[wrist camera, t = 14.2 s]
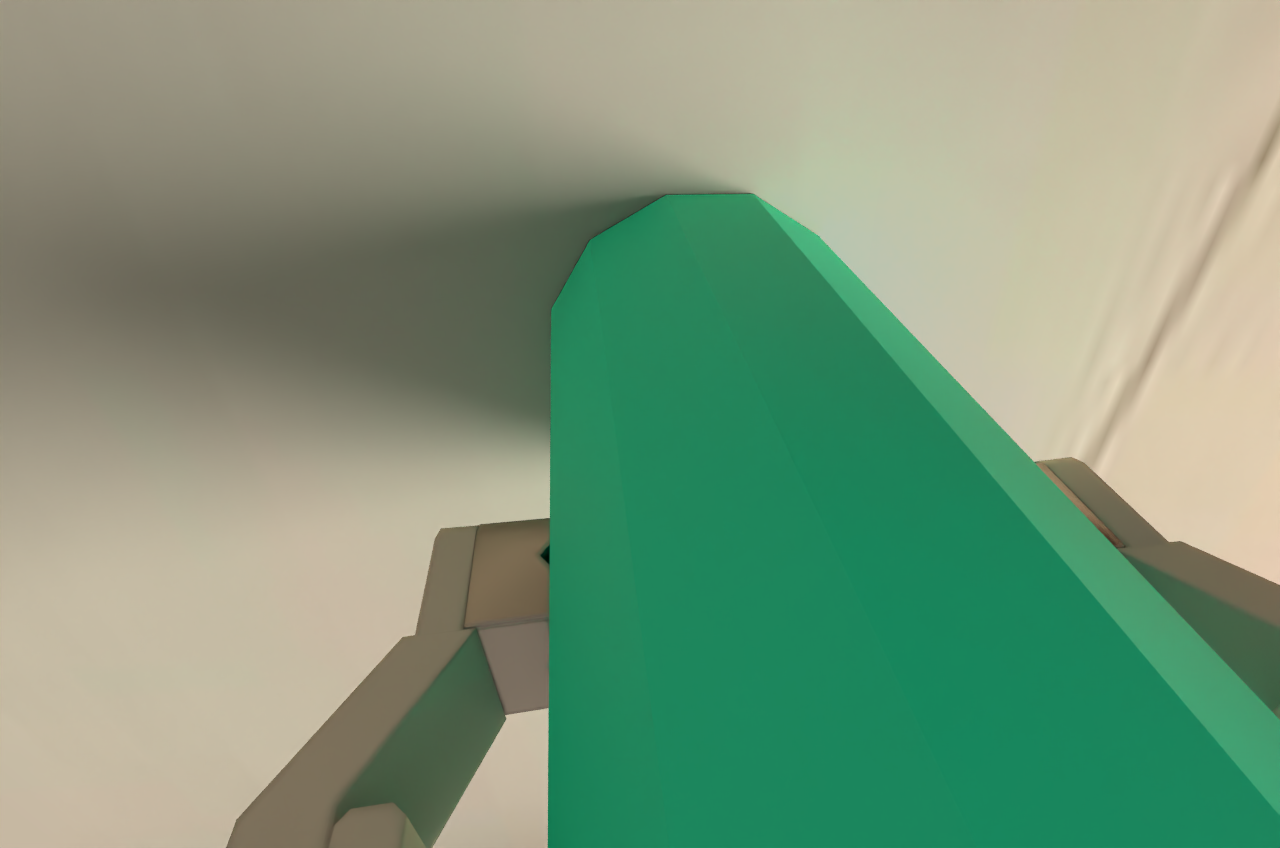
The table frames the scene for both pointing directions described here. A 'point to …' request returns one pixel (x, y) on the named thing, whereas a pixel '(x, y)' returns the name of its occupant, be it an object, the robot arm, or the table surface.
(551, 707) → the candle
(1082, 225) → the table surface
